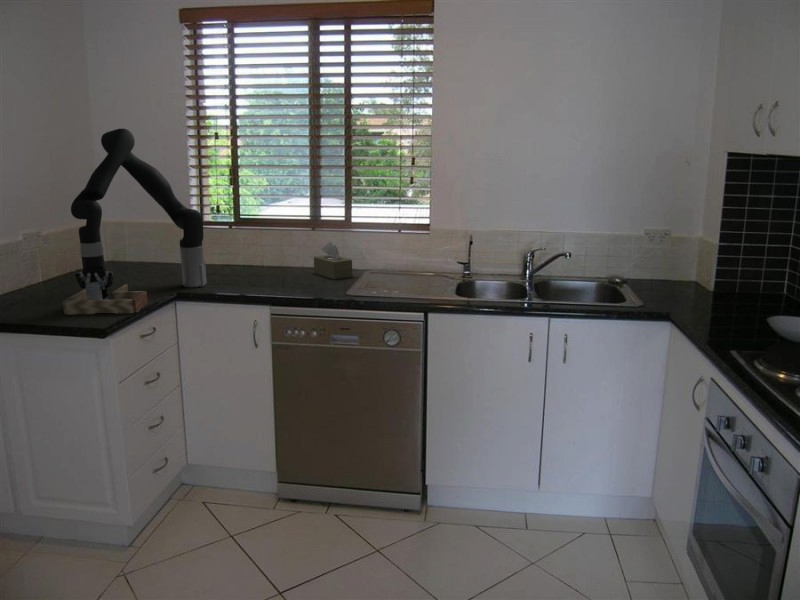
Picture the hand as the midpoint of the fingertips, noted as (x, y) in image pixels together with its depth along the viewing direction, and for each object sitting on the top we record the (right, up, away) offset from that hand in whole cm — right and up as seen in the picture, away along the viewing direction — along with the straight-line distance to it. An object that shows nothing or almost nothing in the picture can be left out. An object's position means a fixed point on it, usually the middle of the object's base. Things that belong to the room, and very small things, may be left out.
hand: (98, 298), depth 249 cm
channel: (+2, -2, +7) cm, 8 cm away
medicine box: (0, -2, +1) cm, 2 cm away
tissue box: (+83, +11, +58) cm, 102 cm away
